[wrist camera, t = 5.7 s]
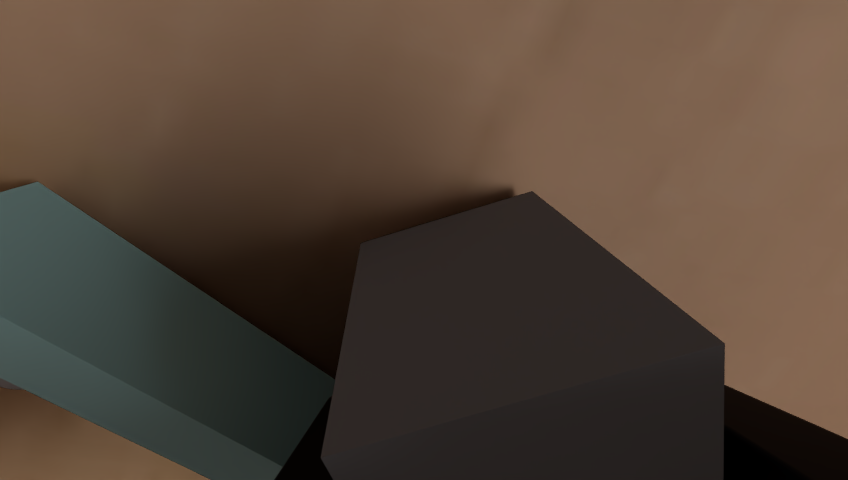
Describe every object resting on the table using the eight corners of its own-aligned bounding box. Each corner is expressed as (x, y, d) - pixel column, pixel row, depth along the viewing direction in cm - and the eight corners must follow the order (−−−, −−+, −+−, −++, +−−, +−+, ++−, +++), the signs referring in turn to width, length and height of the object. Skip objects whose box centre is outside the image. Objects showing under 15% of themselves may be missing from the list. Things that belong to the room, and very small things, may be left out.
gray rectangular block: (570, 390, 11) (722, 654, 6) (432, 429, 11) (467, 718, 6) (532, 191, 9) (724, 343, 4) (360, 243, 9) (320, 458, 4)
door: (522, 504, 12) (566, 618, 10) (478, 539, 13) (509, 659, 10) (37, 181, 7) (-151, 234, 5) (-19, 252, 8) (-227, 341, 5)
